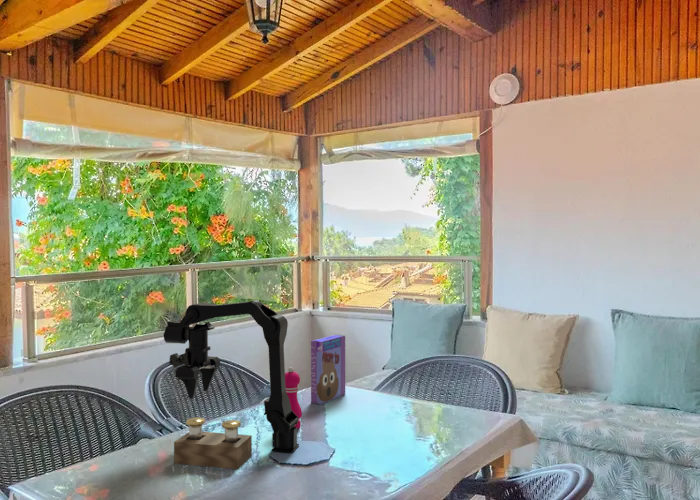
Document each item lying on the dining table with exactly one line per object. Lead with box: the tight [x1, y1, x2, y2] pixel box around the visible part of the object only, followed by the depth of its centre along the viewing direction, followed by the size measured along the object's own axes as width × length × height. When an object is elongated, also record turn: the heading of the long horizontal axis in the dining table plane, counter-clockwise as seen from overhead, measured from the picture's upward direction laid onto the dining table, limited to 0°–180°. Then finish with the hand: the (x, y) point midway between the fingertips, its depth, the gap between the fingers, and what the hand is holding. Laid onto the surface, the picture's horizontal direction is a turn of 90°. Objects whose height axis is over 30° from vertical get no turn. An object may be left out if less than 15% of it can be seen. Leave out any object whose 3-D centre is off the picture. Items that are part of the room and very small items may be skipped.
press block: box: [173, 431, 253, 470], centre depth 169 cm, size 19×10×6 cm, turn 77°
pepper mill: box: [285, 366, 303, 430], centre depth 198 cm, size 7×7×20 cm
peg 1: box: [185, 416, 206, 440], centre depth 170 cm, size 5×5×6 cm
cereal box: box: [310, 334, 346, 406], centre depth 234 cm, size 17×5×24 cm, turn 149°
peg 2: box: [221, 419, 242, 443], centre depth 168 cm, size 5×5×6 cm
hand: (198, 394), depth 184 cm, fingers open, 9 cm apart
